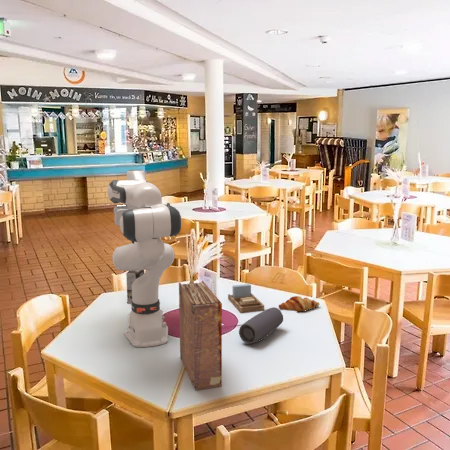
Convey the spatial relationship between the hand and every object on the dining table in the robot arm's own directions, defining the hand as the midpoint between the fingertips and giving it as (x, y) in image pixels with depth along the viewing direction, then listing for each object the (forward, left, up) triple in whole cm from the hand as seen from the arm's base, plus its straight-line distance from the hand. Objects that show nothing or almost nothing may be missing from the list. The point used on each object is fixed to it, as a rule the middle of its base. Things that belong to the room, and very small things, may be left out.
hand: (137, 233), depth 216 cm
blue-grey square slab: (-1, -51, -38) cm, 63 cm away
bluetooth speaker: (-42, -46, -39) cm, 74 cm away
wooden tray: (-7, -51, -39) cm, 64 cm away
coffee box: (+17, 0, -39) cm, 43 cm away
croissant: (-18, -75, -39) cm, 87 cm away
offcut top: (-9, -51, -36) cm, 63 cm away
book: (-63, -14, -39) cm, 76 cm away
